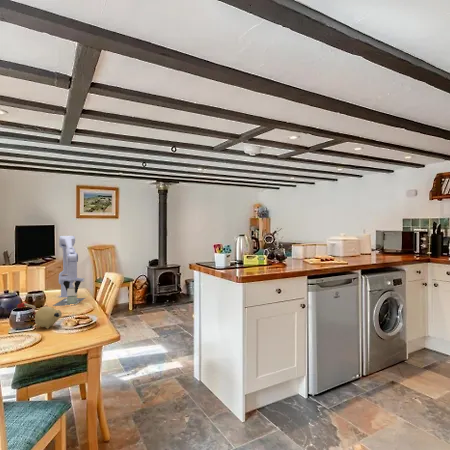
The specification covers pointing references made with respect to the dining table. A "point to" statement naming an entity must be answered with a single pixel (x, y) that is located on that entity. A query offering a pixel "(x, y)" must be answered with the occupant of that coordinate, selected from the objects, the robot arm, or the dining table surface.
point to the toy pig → (47, 317)
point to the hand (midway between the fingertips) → (72, 292)
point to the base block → (72, 299)
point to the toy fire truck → (25, 305)
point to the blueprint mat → (64, 302)
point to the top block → (71, 291)
